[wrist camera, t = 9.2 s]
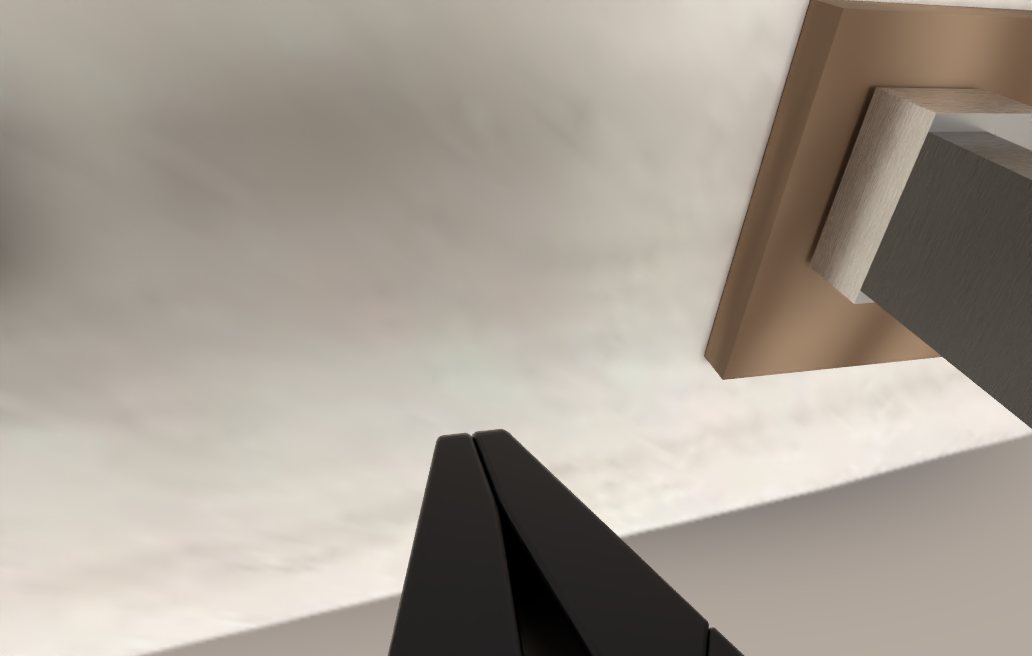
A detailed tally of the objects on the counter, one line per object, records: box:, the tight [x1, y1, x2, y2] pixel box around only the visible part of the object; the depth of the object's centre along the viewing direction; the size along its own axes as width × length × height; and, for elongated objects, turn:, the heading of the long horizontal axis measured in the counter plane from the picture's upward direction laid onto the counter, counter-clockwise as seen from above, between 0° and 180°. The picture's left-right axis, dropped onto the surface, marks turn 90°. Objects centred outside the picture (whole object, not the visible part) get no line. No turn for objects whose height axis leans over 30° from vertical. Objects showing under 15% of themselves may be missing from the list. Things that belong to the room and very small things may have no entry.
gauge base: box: [705, 0, 1032, 380], centre depth 22 cm, size 13×13×8 cm
